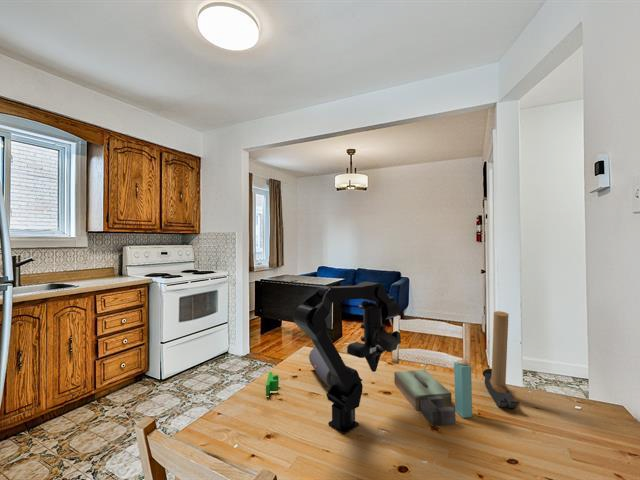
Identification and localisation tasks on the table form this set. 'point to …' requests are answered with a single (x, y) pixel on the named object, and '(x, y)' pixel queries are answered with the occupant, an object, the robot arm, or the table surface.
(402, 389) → the toolbox
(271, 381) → the pipe clamp
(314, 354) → the bluetooth speaker
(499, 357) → the hammer
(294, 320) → the robot arm
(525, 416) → the table surface
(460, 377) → the teal rectangular block
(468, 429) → the table surface
